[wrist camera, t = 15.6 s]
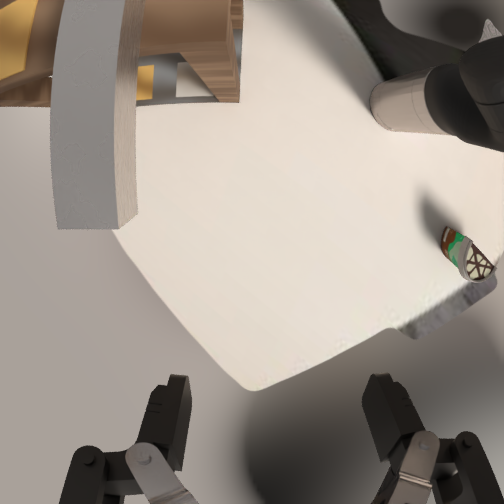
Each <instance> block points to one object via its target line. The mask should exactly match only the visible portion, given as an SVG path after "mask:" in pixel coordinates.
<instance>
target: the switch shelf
mask: <svg viewBox="0 0 504 504" xmlns="http://www.w3.org/2000/svg"><path fill="white" fill-rule="evenodd" d="M64 2H65V0H0V107H11V106H12V107H17V106H18V107H51V90H52V78H51V77H48V76H52V75H53V67H54V58H55V50H56V43H57V37H58V31H59V25H60V20H61V15H62V10H63V6H64ZM242 33H243V0H146V1H145V8H144V15H143V23H142V31H141V40H140V50H139V61H138V75H137V93H136V107H137V106H147V105H160V104H177V103H207V102H232V103H239V96H240V73H241V52H242Z"/></svg>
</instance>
